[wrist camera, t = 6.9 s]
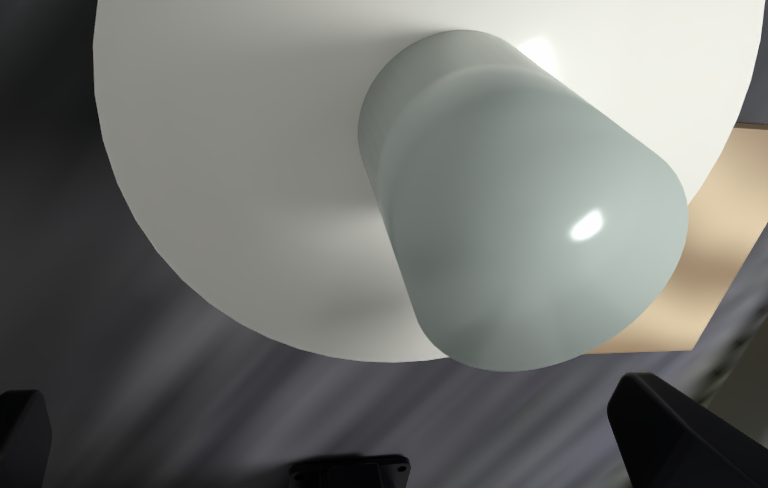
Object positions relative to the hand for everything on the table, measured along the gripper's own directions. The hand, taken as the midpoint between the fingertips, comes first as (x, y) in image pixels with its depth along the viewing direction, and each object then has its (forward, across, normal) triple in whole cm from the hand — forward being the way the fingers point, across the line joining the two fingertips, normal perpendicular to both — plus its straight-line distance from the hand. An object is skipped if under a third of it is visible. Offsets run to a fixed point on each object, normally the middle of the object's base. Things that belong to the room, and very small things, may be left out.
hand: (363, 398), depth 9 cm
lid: (+4, -2, -4) cm, 5 cm away
